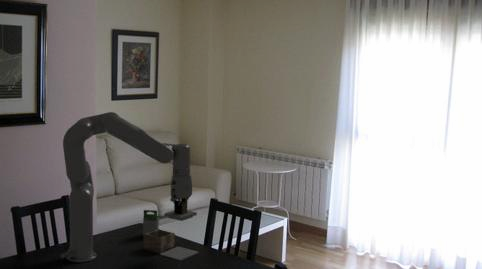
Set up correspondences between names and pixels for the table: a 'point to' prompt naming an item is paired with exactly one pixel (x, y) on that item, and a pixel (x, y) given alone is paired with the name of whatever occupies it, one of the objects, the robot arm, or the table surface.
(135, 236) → the table surface
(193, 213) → the lid
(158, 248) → the keepsake box
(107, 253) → the table surface
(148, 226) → the ink box
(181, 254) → the felt mat
